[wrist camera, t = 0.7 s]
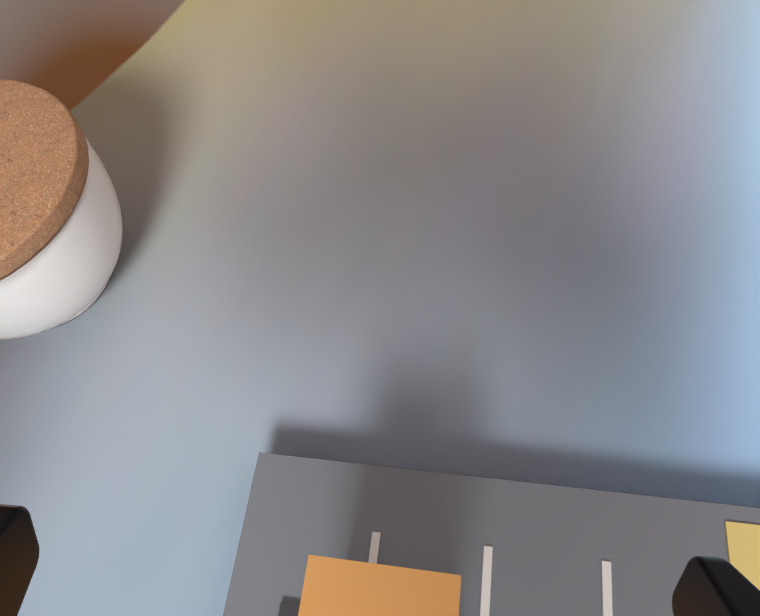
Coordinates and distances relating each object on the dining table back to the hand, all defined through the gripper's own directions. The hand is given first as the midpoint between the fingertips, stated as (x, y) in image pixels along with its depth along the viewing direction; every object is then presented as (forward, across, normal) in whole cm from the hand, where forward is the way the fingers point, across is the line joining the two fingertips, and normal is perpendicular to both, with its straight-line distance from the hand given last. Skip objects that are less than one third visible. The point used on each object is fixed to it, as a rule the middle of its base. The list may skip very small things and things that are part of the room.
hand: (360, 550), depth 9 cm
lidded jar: (+22, +16, +9) cm, 29 cm away
